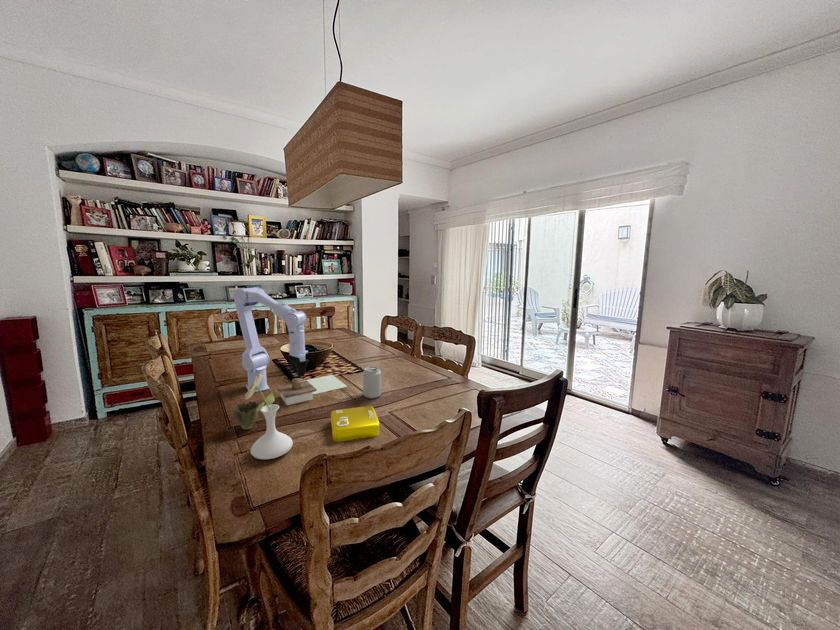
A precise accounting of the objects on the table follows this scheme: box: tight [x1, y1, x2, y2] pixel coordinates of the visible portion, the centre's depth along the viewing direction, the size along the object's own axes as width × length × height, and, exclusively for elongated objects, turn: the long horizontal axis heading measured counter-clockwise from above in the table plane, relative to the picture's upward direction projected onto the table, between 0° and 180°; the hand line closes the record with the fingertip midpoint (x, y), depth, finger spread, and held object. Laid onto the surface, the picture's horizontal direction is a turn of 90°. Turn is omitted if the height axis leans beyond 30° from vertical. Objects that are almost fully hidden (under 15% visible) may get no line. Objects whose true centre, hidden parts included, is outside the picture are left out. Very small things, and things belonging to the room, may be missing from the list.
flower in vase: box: [244, 374, 294, 460], centre depth 93 cm, size 13×11×25 cm
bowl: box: [280, 392, 314, 406], centre depth 132 cm, size 10×10×4 cm
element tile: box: [330, 405, 381, 443], centre depth 110 cm, size 15×15×5 cm
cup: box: [232, 400, 260, 431], centre depth 108 cm, size 8×7×8 cm
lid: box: [277, 377, 317, 398], centre depth 131 cm, size 12×12×4 cm
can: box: [362, 366, 382, 399], centre depth 136 cm, size 8×8×12 cm
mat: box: [301, 374, 348, 395], centre depth 148 cm, size 18×16×1 cm
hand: (298, 373), depth 133 cm, fingers open, 7 cm apart
